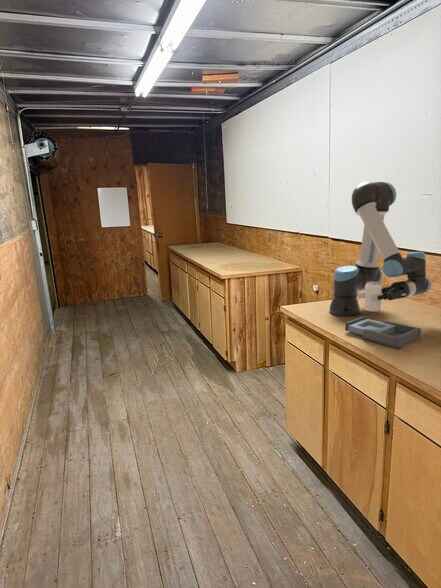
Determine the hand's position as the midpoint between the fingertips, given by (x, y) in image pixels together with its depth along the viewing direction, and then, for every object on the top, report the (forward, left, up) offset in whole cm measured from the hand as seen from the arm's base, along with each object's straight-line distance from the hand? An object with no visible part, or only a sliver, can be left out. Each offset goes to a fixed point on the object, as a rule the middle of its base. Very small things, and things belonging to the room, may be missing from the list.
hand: (364, 297), depth 164 cm
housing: (+10, +5, -17) cm, 20 cm away
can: (+1, +5, -7) cm, 8 cm away
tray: (0, +5, -16) cm, 17 cm away
